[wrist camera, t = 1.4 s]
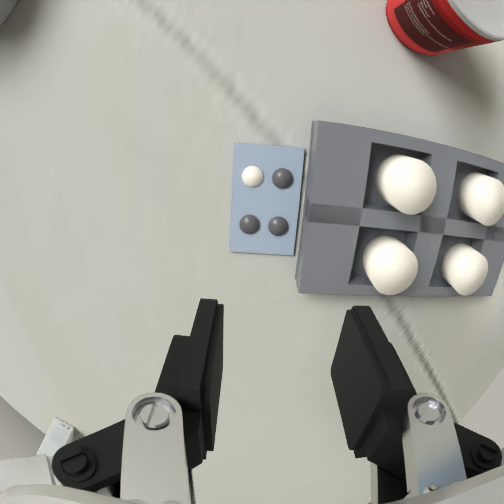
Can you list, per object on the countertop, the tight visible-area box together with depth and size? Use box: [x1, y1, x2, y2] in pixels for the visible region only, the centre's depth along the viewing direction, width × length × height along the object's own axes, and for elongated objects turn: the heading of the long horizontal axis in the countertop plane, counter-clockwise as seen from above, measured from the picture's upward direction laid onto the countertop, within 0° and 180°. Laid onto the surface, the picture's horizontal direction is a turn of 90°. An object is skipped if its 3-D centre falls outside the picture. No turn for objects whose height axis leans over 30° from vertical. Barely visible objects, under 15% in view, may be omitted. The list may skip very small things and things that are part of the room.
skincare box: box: [36, 418, 74, 456], centre depth 39 cm, size 6×4×12 cm
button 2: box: [361, 235, 418, 295], centre depth 26 cm, size 4×4×3 cm
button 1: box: [375, 154, 437, 215], centre depth 23 cm, size 4×4×3 cm
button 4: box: [440, 242, 488, 295], centre depth 26 cm, size 4×4×3 cm
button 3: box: [457, 172, 504, 226], centre depth 23 cm, size 4×4×3 cm
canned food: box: [386, 0, 504, 55], centre depth 15 cm, size 8×8×11 cm
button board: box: [230, 121, 504, 296], centre depth 27 cm, size 30×15×3 cm, turn 87°
